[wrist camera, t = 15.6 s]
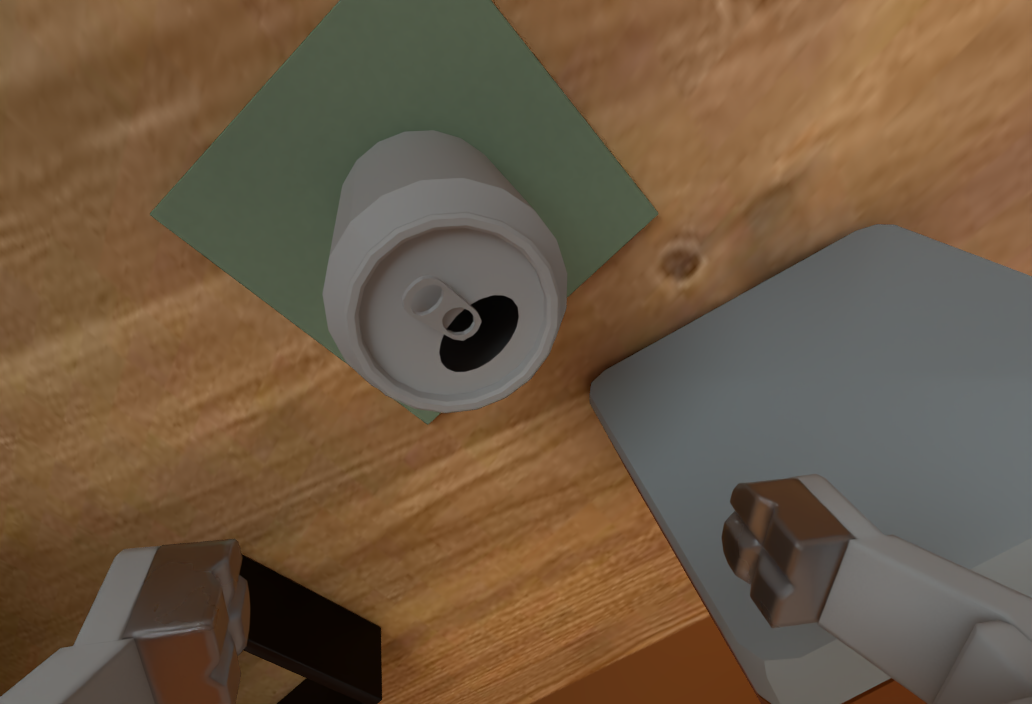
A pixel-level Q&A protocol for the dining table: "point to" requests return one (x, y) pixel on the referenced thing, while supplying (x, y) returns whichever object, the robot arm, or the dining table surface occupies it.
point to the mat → (380, 115)
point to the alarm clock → (840, 429)
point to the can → (441, 275)
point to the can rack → (312, 640)
